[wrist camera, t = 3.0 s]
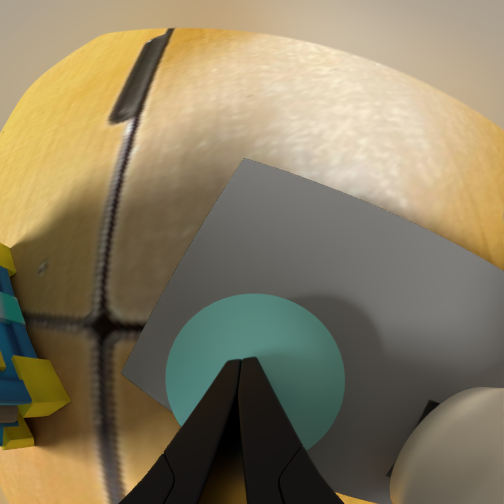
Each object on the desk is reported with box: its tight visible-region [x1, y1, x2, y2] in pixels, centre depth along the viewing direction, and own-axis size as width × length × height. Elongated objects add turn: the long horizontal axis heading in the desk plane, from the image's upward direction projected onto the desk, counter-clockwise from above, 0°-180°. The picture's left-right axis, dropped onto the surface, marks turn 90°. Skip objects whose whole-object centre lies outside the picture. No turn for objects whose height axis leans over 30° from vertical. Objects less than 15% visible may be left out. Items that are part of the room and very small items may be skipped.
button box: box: [121, 158, 504, 504], centre depth 12 cm, size 11×18×8 cm, turn 62°
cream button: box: [390, 387, 504, 504], centre depth 6 cm, size 5×5×5 cm
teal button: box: [165, 294, 345, 450], centre depth 10 cm, size 5×5×5 cm
